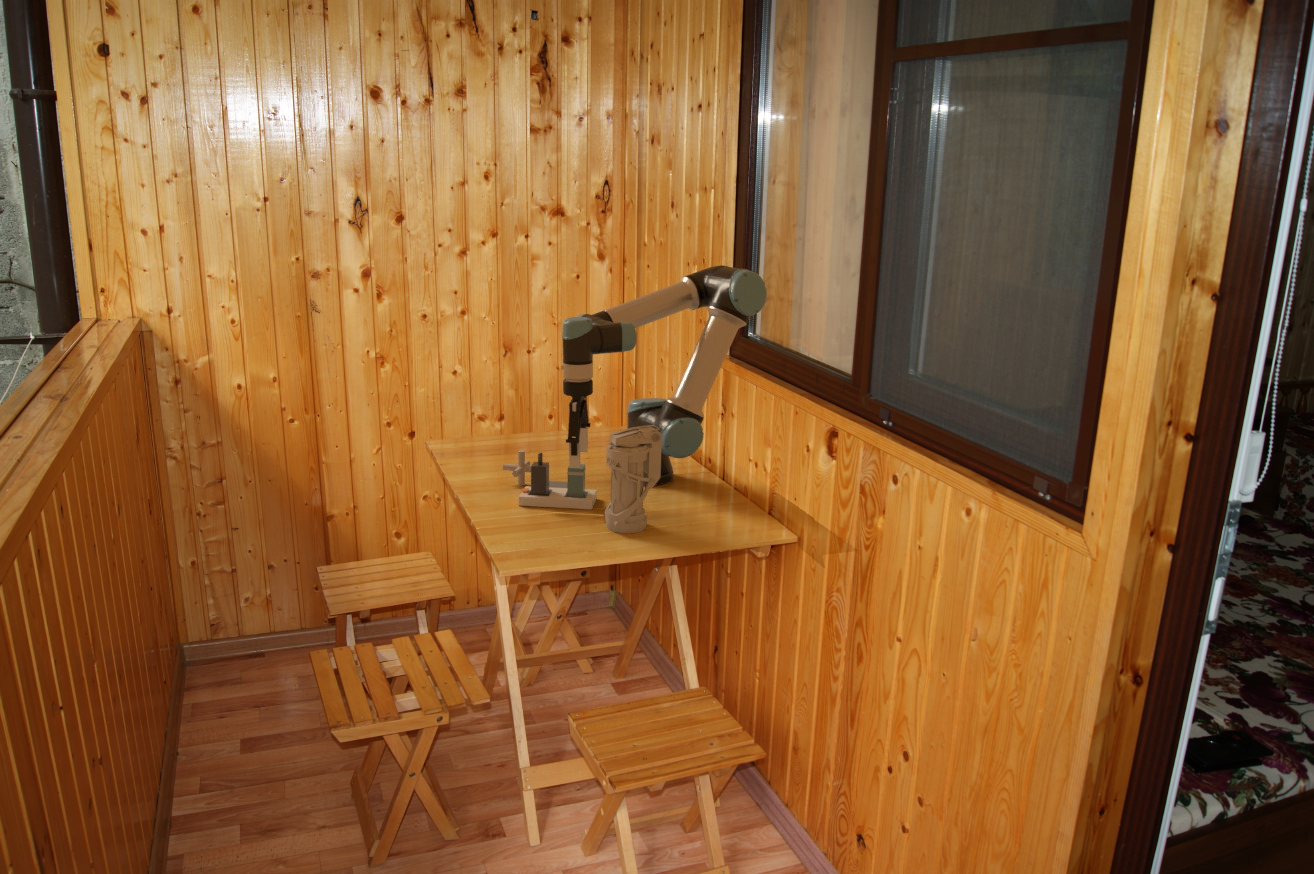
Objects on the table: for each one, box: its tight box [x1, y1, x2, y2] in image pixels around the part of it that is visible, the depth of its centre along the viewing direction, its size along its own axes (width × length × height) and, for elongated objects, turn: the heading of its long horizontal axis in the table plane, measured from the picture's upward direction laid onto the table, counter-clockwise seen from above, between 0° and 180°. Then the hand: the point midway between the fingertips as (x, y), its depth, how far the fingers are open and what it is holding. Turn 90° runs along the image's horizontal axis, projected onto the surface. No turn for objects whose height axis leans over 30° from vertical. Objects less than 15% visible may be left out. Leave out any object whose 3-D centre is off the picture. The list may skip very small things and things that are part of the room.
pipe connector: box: [502, 449, 532, 486], centre depth 284 cm, size 10×10×10 cm
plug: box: [566, 463, 586, 498], centre depth 270 cm, size 4×4×10 cm
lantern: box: [604, 425, 662, 534], centre depth 254 cm, size 13×10×25 cm
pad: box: [549, 480, 568, 488], centre depth 284 cm, size 10×10×1 cm
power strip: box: [518, 485, 598, 511], centre depth 271 cm, size 19×9×4 cm, turn 86°
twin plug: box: [530, 452, 550, 496], centre depth 270 cm, size 4×4×13 cm
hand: (578, 459), depth 268 cm, fingers open, 13 cm apart
